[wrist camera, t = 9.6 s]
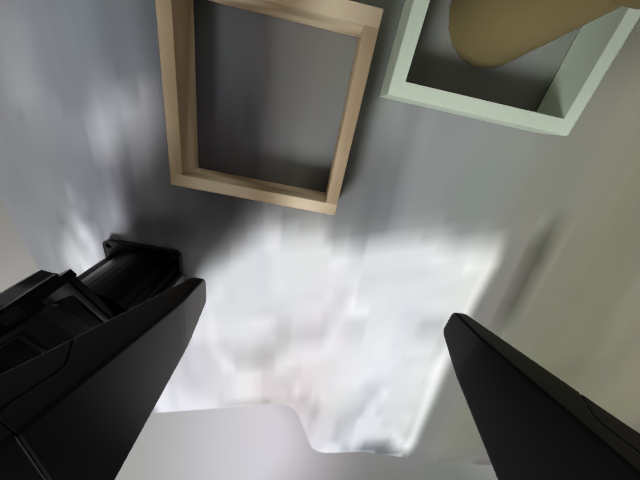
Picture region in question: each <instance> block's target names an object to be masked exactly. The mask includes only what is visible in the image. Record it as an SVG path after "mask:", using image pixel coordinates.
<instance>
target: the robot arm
mask: <svg viewBox="0 0 640 480" xmlns="http://www.w3.org/2000/svg"><path fill="white" fill-rule="evenodd" d="M103 248H104V252H105V257H106V258H105V259H103V260H102V261H100V262H99V263H97V264H96V265H94V266H93V267H91V268H90V269H88V270H87V271H85V272H84V273H82V274H81V275H79V276H78V277H76V275H77V274H76V273H74V272H73V271H72V270H71V269H69V270H67V271H65V272H63V273H60V274H57V273H51V272H47V271H43V270H40V271H38V272H36V273H34V274H32V275H30V276H29V277H27V278H25V279H23V280H21V281H20V282H18V283H16V284H15V285H13V286H11V287H9V288H7V289H6V290H4V291H2V292H0V480H115V478H116V476H117V474H118V472H119V471H120V469H121V467H122V465H123V463H124V461H125V459H126V458H127V456H128V454H129V452H130V450H131V449H132V447H133V445H134V443H135V441H136V439H137V438H138V436H139V434H140V432H141V430H142V429H143V427H144V425H145V423H146V421H147V419H148V418H149V416H150V414H151V412H152V410H153V409H154V407H155V405H156V403H157V401H158V399H159V398H160V396H161V394H162V392H163V390H164V388H165V387H166V385H167V383H168V381H169V379H170V378H171V376H172V374H173V372H174V370H175V368H176V367H177V365H178V363H179V361H180V359H181V357H182V356H183V354H184V352H185V350H186V348H187V346H188V344H189V342H190V339H191V337H192V335H193V332H194V330H195V327H196V325H197V322H198V320H199V318H200V315H201V313H202V310H203V308H204V305H205V302H206V282H205V280H204V279H201V278H190V279H188V280H186V281H184V274H183V272H182V262H181V254H180V252H179V251H177V250H174V249H168V248H162V247H156V246H150V245H144V244H138V243H132V242H126V241H121V240H115V239H107V240H106V241H104V242H103ZM173 255H175V256H176V257H175V256H173ZM444 337H445V340H446V344H447V347H448V350H449V354H450V357H451V360H452V364H453V367H454V370H455V373H456V376H457V379H458V381H459V384H460V386H461V389H462V391H463V394H464V396H465V399H466V401H467V404H468V406H469V409H470V411H471V414H472V416H473V419H474V421H475V424H476V426H477V429H478V431H479V434H480V436H481V439H482V441H483V444H484V446H485V449H486V451H487V453H488V456H489V458H490V461H491V463H492V466H493V468H494V471H495V473H496V476H497V478H498V480H640V433H638V432H637V431H635V430H634V429H632V428H631V427H629V426H627V425H626V424H624V423H623V422H621V421H620V420H618V419H617V418H615V417H614V416H613V415H611V414H610V413H608V412H607V411H605V410H604V409H602V408H601V407H599V406H598V405H596V404H595V403H593V402H592V401H591V400H589V399H588V398H586V397H585V396H583V395H580V393H579V392H577V391H576V390H575V389H573V388H572V387H570V386H569V385H567V384H566V383H564V382H563V381H562V380H560V379H559V378H557V377H556V376H554V375H553V374H551V373H550V372H549V371H547V370H546V369H544V368H543V367H541V366H540V365H538V364H537V363H536V362H534V361H533V360H531V359H530V358H528V357H527V356H525V355H524V354H523V353H521V352H520V351H518V350H517V349H515V348H514V347H512V346H511V345H509V344H508V343H507V342H505V341H504V340H502V339H501V338H499V337H498V336H496V335H495V334H494V333H492V332H491V331H489V330H488V329H486V328H485V327H483V326H482V325H481V324H479V323H478V322H476V321H475V320H473V319H472V318H470V317H469V316H468V315H466V314H462V313H453V314H452V315H451V317H450V319H449V320H448V322H447V324H446V326H445V328H444Z"/></svg>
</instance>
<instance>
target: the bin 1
mask: <svg viewBox="0 0 640 480" xmlns="http://www.w3.org/2000/svg"><path fill="white" fill-rule="evenodd" d="M208 1H212V2H216V3H220V4H224V5H228V6H232V7H236V8H240V9H244V10H248V11H252V12H256V13H261V14H265V15H269V16H273V17H277V18H281V19H285V20H289V21H293V22H297V23H301V24H305V25H309V26H314V27H318V28H322V29H326V30H330V31H334V32H338V33H342V34H346V35H350V36H354V37H358V42H357V47H356V52H355V57H354V61H353V66H352V71H351V76H350V80H349V85H348V90H347V95H346V99H345V104H344V109H343V113H342V118H341V123H340V128H339V132H338V137H337V142H336V147H335V151H334V156H333V161H332V166H331V170H330V175H329V180H328V184H327V189H326V193H325V192H320V191H315V190H310V189H304V188H299V187H294V186H289V185H284V184H279V183H274V182H269V181H263V180H258V179H253V178H248V177H243V176H238V175H233V174H228V173H222V172H217V171H212V170H207V169H202V168H199V163H198V132H197V101H196V69H195V38H194V6H193V0H155V2H156V14H157V26H158V38H159V49H160V61H161V73H162V85H163V96H164V108H165V120H166V132H167V143H168V155H169V167H170V179H171V185H177V186H182V187H187V188H193V189H198V190H203V191H209V192H214V193H219V194H224V195H230V196H235V197H240V198H246V199H251V200H256V201H262V202H267V203H272V204H277V205H283V206H288V207H293V208H299V209H304V210H309V211H315V212H320V213H325V214H330V215H335V211H336V207H337V203H338V198H339V194H340V190H341V186H342V182H343V177H344V173H345V169H346V165H347V161H348V156H349V152H350V148H351V144H352V140H353V135H354V131H355V127H356V123H357V119H358V115H359V110H360V106H361V102H362V98H363V94H364V89H365V85H366V81H367V77H368V73H369V68H370V64H371V60H372V56H373V52H374V47H375V43H376V39H377V35H378V31H379V26H380V22H381V18H382V14H383V10H384V9H381V8H377V7H374V6H370V5H366V4H362V3H358V2H354V1H350V0H208Z"/></svg>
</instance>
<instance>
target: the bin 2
mask: <svg viewBox="0 0 640 480" xmlns="http://www.w3.org/2000/svg"><path fill="white" fill-rule="evenodd" d="M429 2H430V0H405V2H404V5H403V9H402V13H401V17H400V20H399V24H398V28H397V32H396V36H395V39H394V43H393V47H392V51H391V54H390V58H389V62H388V66H387V70H386V73H385V77H384V81H383V85H382V88H381V92H380V96H379V97H382V98H387V99H391V100H395V101H400V102H404V103H408V104H413V105H417V106H422V107H426V108H430V109H435V110H439V111H443V112H448V113H452V114H457V115H461V116H465V117H470V118H474V119H478V120H483V121H487V122H492V123H496V124H500V125H505V126H509V127H514V128H518V129H522V130H527V131H531V132H535V133H544V134H554V135H564V136H568V134H569V132H570V131H571V129H572V127H573V126H574V124H575V123H576V121H577V119H578V118H579V116H580V114H581V113H582V111H583V109H584V108H585V106H586V104H587V103H588V101H589V100H590V98H591V96H592V95H593V93H594V91H595V90H596V88H597V86H598V85H599V83H600V81H601V80H602V78H603V77H604V75H605V73H606V72H607V70H608V68H609V67H610V65H611V63H612V62H613V60H614V59H615V57H616V55H617V54H618V52H619V50H620V49H621V47H622V45H623V44H624V42H625V40H626V39H627V37H628V36H629V34H630V32H631V31H632V29H633V27H634V26H635V24H636V22H637V21H638V19H639V17H640V9H632V8H627V7H620V8H618V9H616V10H614V11H612V12H610V13H608V14H606V15H604V16H602V17H600V18H598V19H596V20H594V21H591V22H589V23H587V24H585V25H583V26H582V27H581V29H580V31H579V33H578V34H577V36H576V38H575V40H574V42H573V44H572V46H571V48H570V49H569V51H568V53H567V55H566V57H565V59H564V61H563V63H562V64H561V66H560V68H559V70H558V72H557V74H556V76H555V78H554V79H553V81H552V83H551V85H550V87H549V89H548V91H547V93H546V94H545V96H544V98H543V100H542V102H541V104H540V106H539V108H538V109H537V111H536V112H532V111H528V110H523V109H519V108H515V107H511V106H506V105H502V104H498V103H494V102H489V101H485V100H481V99H477V98H472V97H468V96H464V95H460V94H455V93H451V92H447V91H443V90H438V89H434V88H430V87H426V86H421V85H417V84H413V83H408V82H406V78H407V75H408V72H409V68H410V65H411V62H412V58H413V55H414V52H415V48H416V45H417V42H418V39H419V35H420V32H421V29H422V25H423V22H424V19H425V15H426V12H427V9H428V5H429Z"/></svg>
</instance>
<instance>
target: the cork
mask: <svg viewBox="0 0 640 480" xmlns="http://www.w3.org/2000/svg"><path fill="white" fill-rule="evenodd" d="M620 7H627V8H632V9H640V0H452V2H451V5H450V12H449V32H450V36H451V40H452V45H453V47H454V48H455V50H456V51H457V53H458V54H459V56H460V58H461V59H463V60H464V61H466V62H467V63H469V64H470V65H472V66H475V67H481V68H486V69H487V68H492V67H497V66H502V65H504V64H506V63H508V62H510V61H512V60H514V59H516V58H518V57H520V56H522V55H524V54H526V53H528V52H530V51H533V50H535V49H537V48H539V47H541V46H543V45H545V44H547V43H549V42H551V41H553V40H555V39H557V38H559V37H561V36H563V35H565V34H567V33H569V32H571V31H573V30H575V29H577V28H579V27H581V26H583V25H585V24H587V23H589V22H591V21H594V20H596V19H598V18H600V17H602V16H604V15H606V14H608V13H610V12H612V11H614V10H616V9H618V8H620Z"/></svg>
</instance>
